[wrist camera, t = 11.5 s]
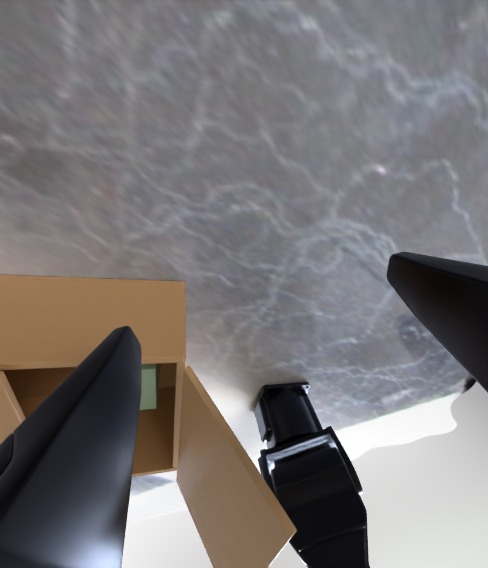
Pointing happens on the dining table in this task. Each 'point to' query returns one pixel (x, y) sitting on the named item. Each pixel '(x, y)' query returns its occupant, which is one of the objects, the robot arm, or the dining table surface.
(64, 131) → the dining table surface
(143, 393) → the block
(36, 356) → the carton
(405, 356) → the dining table surface
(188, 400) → the flap
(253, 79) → the dining table surface
